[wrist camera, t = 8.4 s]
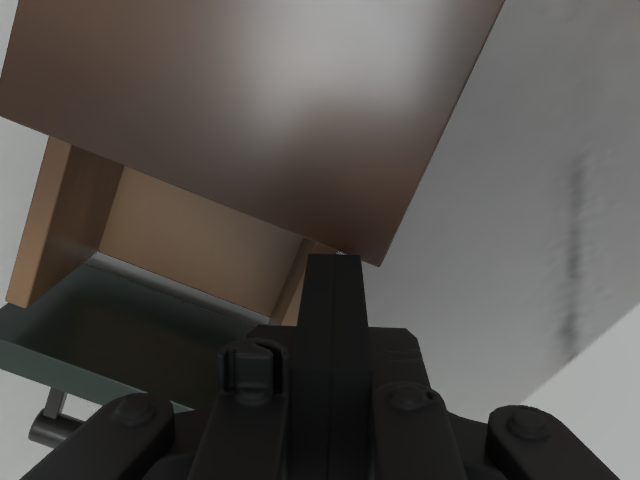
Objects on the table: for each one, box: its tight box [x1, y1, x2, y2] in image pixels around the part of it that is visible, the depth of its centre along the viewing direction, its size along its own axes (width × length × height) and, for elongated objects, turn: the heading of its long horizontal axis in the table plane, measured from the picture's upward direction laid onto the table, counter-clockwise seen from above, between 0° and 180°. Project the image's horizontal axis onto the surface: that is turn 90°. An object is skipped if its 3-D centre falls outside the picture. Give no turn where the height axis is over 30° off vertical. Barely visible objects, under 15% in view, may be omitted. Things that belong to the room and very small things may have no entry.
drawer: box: [0, 136, 338, 449], centre depth 24 cm, size 18×11×8 cm, turn 158°
